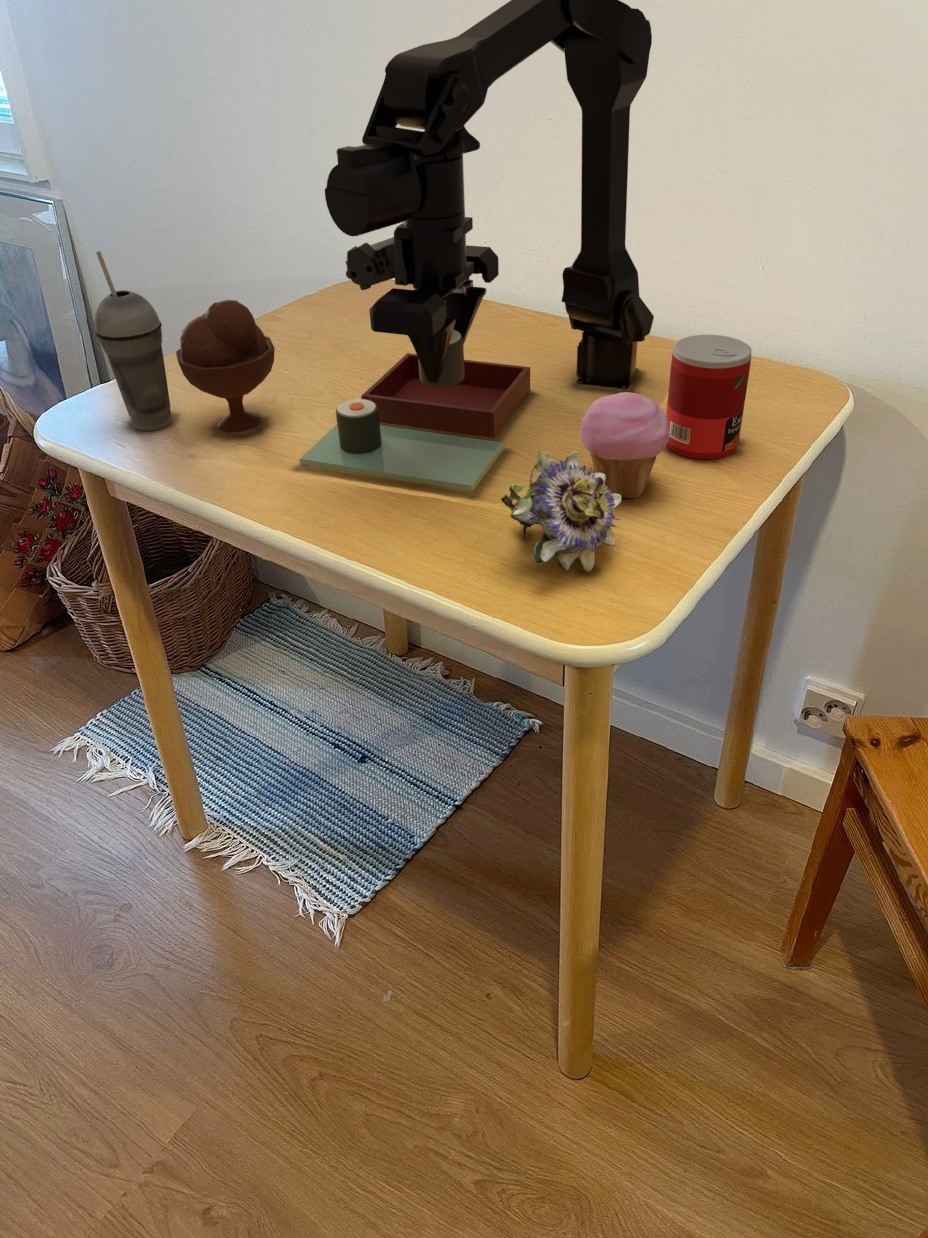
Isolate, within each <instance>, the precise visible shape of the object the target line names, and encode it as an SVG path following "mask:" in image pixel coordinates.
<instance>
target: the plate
mask: <svg viewBox="0 0 928 1238" xmlns="http://www.w3.org/2000/svg"><path fill="white" fill-rule="evenodd" d="M380 431H381V441H382V443H381V446H380V447H379V448H378V449H376V450H374V451H372V452H368V453H363V454H353V453H348V452H345V451H343V450H342V449H341V448H340V443H339V435H338V427H337V423H336V424H335V425H334V426H333V427H331V429H330V430H328V432H327V433H325V434H324V435H323V437H321V438H320V439H319V440H318V441H317V442H316V443H315V444H314V445H313V446H311V447H310V448H309V449H308V450H307V451H306V452H305V453H304V454H303V455H302V456H301V457H300V458H299V463H300V465H303V466H309V467H316V468H323V469H329V470H335V471H341V472H346V473H347V472H348V473H353V474H360V475H367V476H374V477H379V478H384V479H385V478H386V479H392V480H398V481H404V482H411V483H417V484H423V485H430V486H436V487H442V488H449V489H456V490H461V491H467V492H473V491H474V490H475V489H476V487H477V486H478V485H479V483H480V482H481V481H482V479H483V478H484V477H485V475H486V474H487V473H488V471H489V470H490V468H491V467H492V466H493V464H494V463H495V462H496V460H497V459H498V457H500V455H501V454H502V452H503V451H504V450H505V442H501V441H494V440H487V439H480V438H472V437H465V436H459V435H450V434H444V433H437V432H430V431H423V430H416V429H409V428H402V427H395V426H389V425H381V424H380Z"/></svg>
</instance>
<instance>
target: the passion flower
mask: <svg viewBox="0 0 928 1238" xmlns="http://www.w3.org/2000/svg"><path fill="white" fill-rule="evenodd" d="M579 455H580V453H579V452H578V451H577V450H573V451H572V452H571V453H570V454H568V456H566V458H565V460H562V459H561V460H559V463H556V461H555V460H554V459H551V457H550V456H549V453H548V452H546V451H542V450H540V449H539V450H538V452H537V463H535V464H534V466H533V467H532V469H531V470H530V477H529V486H528V488H529V489H527V490H526V493H525V495H524V496H523V497H521V496H520V495H519V494H518V493H519V492H522V491H523V490H524V489H525V487H526V485H525V484H522V483H519V484H518V483H517V484H516V483H513V484H511V485H510V486H509V488H508V490H509V492H510V494H509V496H508V494H506V493H505V494H504V495H503V496H502V497H501V498H500V500H501V502H502V503H503V504H504V505H505V506H506V507H508V508H509V509H510V510H511V513H510V515H509V516H510V517H511V519H513V520H514V521H517V522H518V523H519V525H520V529H521V533H522V537H523V538H525V537H526V532H527V529H528V528H531V527H532V526H534V525H539V526H541V528H542V529H543V533H542V536H541V538H540V539H539V540H538V541H537V542H536V543H535V545H534V548H533V550H532V557H533V560H534V561H535V563H537V564H545V563H546V562H548V561H549V560H550V559H552V558H554V561H555V563H556V565H557V566H558V567H559V568H560V569H561V570H562V571H563V572H564V573H568V571H569V570H570V569H571V565H573V564H575V565H576V566H577V567H578V568H579V569H581V570H582V571H583V572H585V573H590V572H591V571H592V569H593V568H594V565H595V559H596V557H595V555H596V554H595V552H596V550H597V549H598V546H600V545H604V546H607V547H609V546H610V547H613V546H614V545H615V544H616V537H615V532H614V531H613V529H612V528H611V527H615V528H617V525H616V524H615V525H614V524H613V520H615V521H620V518H617V515H614V509H615V508H618V507H619V505H620V504H621V502H622V498H623V497H621V495H619V494H615V493H613V494H612V493H610V492H611V490H610V491H609V490H608V489H609V488H608V487H607V486H606V485H604V484H605V479H606V475H605V474H603V473H600V472H599V473H594V471H593V472H585V471H586V470H587V466H586V464H585V465H583V466H582V467H581V466H580V464H579V462H580V456H579ZM535 469H536V471H537V473H536V480H535V481H533V478H534V470H535ZM590 469H591V470H592V467H590ZM514 500H516V502H515V503H513V501H514Z"/></svg>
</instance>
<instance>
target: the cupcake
mask: <svg viewBox="0 0 928 1238" xmlns="http://www.w3.org/2000/svg"><path fill="white" fill-rule="evenodd" d="M666 415H667V414H666V413H665V411H664V410H663V408H662V407H661V406H660V405H658V404H657V403H656V401H653V400H652V399H650V398H649V397H647V396H646V395H643V394H639V393H636V392H628V391H627V392H626V391H625V392H624V391H623V392H618V393H615V394H612V395H604V396H602V397H599V398H597V399H596V400H594V401H593V402H592V404H590V406H589V407H588V409H587V410H586V413H585V414H584V416H583V419H582V420H581V425H580V431H579V438H580V442H581V444H582V446H583V447H584V448H585V450H586V451H588V452H589V454H590V457H591V460H592V467H593V473H599V472H600V473H603V474H605V475H606V479H605V484H604V485H606V486H607V487H608V488H609V489H608V490H609V491H610V490H611V492H610V493H612V494H613V493H615V494H619V495H621V497H622V498H627V499H637V498H638V497H641V496H642V494H643V492H644V490H645V487H646V486H647V483H648V480H649V478H650V475H651V472H652V470H653V467H654V466H655V462H656V460H657V456H658V455H659V454H660V453H662V452H663V451H664V449H665V448H666V447H667V443H668V440H669V436H670V433H669V426H668V419H667V417H666Z"/></svg>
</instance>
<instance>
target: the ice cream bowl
mask: <svg viewBox="0 0 928 1238" xmlns="http://www.w3.org/2000/svg"><path fill="white" fill-rule="evenodd" d="M179 341H180V345H179V346H180V348H179V349H178V350H177V351H175V355H176V360H177V363H178V366H179V368H180V370H181V372H182V374H183V376H184V378H185V379H186V380H187V381H188V383H189V384H190V385H192V386H193V387H194V388H197V389H198V390H199V391H201V392H204V393H206V394H208V395H211V396H213V397H217V398H220V399H225V400H226V402H227V405H228V411H229V413H228V414H227V415H226V416H224V417H222V419H220V421H218V422H217V423H216V427H218V430H220V431H223V432H226V433H245V432H247V431H250V430H253V429H256V428H257V427H258V426H259V425H260V424H261V423H262V419H261V417H260V415H257V414H254V413H250V412H247V411H245V405H244V403H243V400H244V396H245V395H248V394H250V393H251V392H252V391H253V390H255V389H256V388H257V387H258V386H259V385H261V384H262V383H263V382H264V381H265V379H266V378H267V376H268V375H269V374H270V373H271V372H272V369H273V366H274V363H275V350H276V349H275V346H274V343H273V342H272V339H271V338H270V337H269V336H267V335H265V333H264V332H263V330H262V329H261V327H260V326H259V325H257V324H256V321H255V318H254V316H253V313H252V312H251V311H250V309H249V308H248V307H247V306H246V305H245V304H243V303H241V302H239V301H238V300H237V299H225V300H220V301H216V302H213V303H212V304H210V306H209V307H208V309H207V310H206V312H205V313H203V314H201V315H199V316H197V317H195V318H193V319H192V320H191V321H189V322H188V323H187V325H186V326H185V327H184V328H183V330H182V332H181V336H180V340H179Z"/></svg>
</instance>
